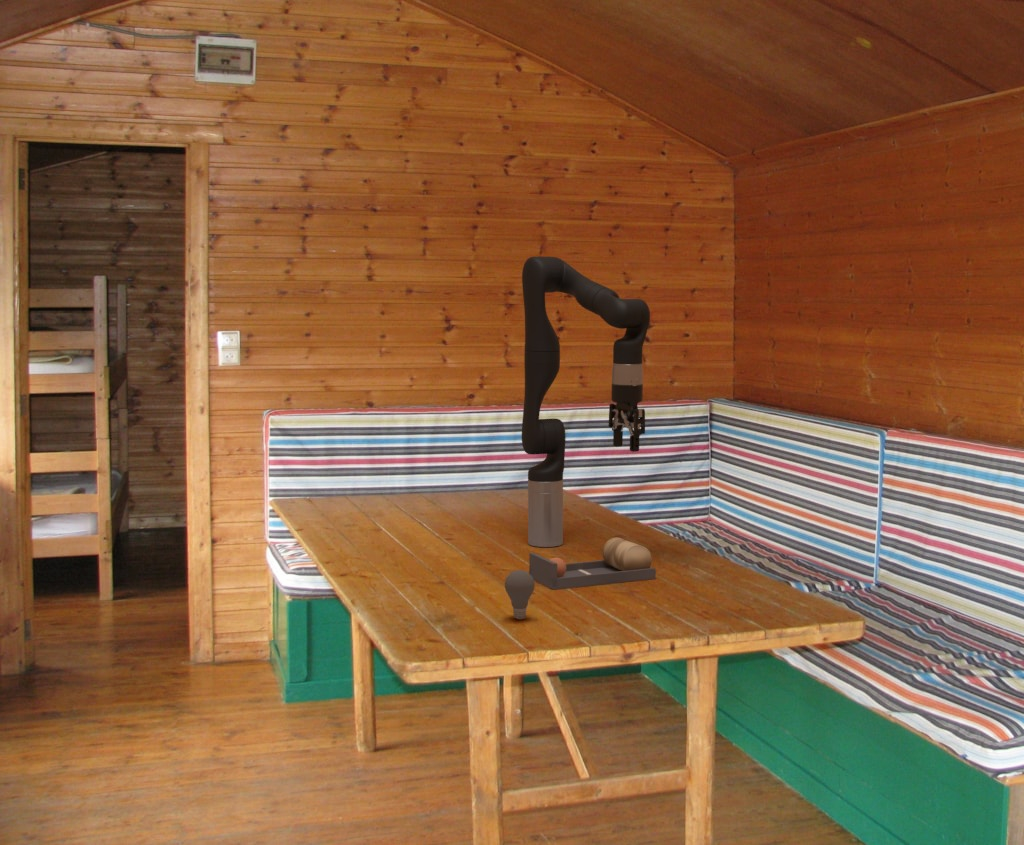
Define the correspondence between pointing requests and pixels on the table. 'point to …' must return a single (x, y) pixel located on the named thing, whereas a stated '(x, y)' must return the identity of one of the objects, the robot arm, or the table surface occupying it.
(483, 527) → the table surface
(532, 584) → the light bulb
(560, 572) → the ball
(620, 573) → the runway
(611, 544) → the log roller
